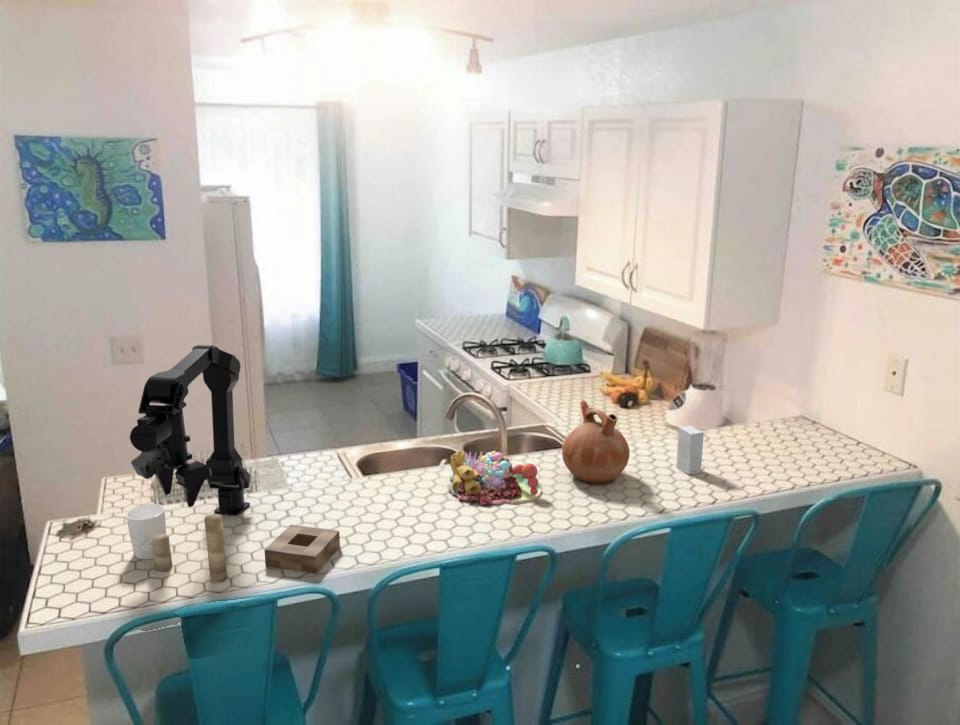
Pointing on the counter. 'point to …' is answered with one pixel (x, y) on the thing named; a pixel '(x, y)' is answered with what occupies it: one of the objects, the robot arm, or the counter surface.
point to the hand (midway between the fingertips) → (179, 500)
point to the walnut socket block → (302, 548)
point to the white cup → (145, 528)
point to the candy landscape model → (493, 479)
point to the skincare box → (689, 450)
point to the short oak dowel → (162, 552)
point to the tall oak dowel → (215, 548)
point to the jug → (595, 448)
